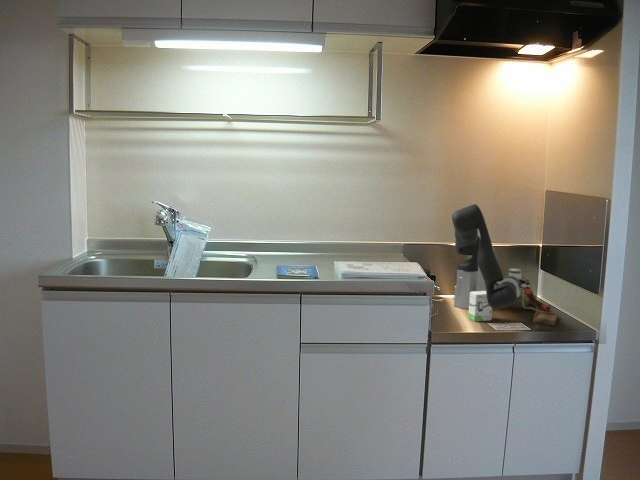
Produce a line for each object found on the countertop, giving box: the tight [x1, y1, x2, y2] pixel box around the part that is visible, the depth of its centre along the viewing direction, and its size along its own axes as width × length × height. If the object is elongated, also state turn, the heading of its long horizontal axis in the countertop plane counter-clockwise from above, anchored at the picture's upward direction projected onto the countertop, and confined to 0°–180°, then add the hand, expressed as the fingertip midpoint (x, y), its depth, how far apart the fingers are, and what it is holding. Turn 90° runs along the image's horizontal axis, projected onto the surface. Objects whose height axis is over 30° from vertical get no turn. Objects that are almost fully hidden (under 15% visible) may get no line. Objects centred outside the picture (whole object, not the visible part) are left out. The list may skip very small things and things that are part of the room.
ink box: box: [468, 290, 493, 322], centre depth 227 cm, size 9×5×12 cm, turn 108°
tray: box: [532, 309, 559, 326], centre depth 228 cm, size 8×12×2 cm
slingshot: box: [519, 286, 551, 312], centre depth 246 cm, size 17×10×15 cm
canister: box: [508, 268, 523, 298], centre depth 225 cm, size 5×5×11 cm
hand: (515, 278), depth 227 cm, fingers closed on canister, 5 cm apart
